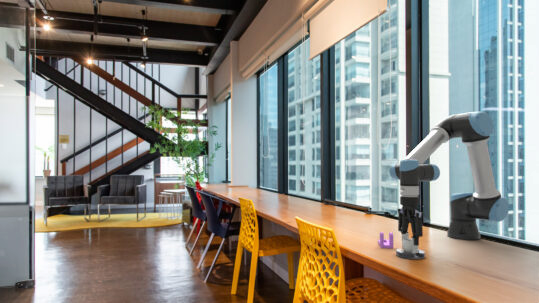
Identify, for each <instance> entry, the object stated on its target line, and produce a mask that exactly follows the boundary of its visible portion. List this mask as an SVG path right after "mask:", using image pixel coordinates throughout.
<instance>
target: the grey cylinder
mask: <svg viewBox="0 0 539 303" xmlns="http://www.w3.org/2000/svg"><path fill="white" fill-rule="evenodd" d="M402 251H404V252H406V253H412V242H411V238H409V239H404V240H403V249H402ZM413 256H416V253H413Z"/></svg>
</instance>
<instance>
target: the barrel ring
mask: <svg viewBox="0 0 539 303" xmlns="http://www.w3.org/2000/svg"><path fill="white" fill-rule="evenodd" d="M395 255H396V256H397V257H398V258H402V259H406V260H422V259H425V256H426V251H424V250H422V249H420V248H418V253H416V256H413V253H406V252H404V251H403V249H402V248H396V249H395Z"/></svg>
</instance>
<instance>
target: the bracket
mask: <svg viewBox="0 0 539 303" xmlns="http://www.w3.org/2000/svg"><path fill="white" fill-rule="evenodd" d="M377 243H378V245H379V248H380V249H394V233H393V232H389V233H388V239H385V234H384V231H380V232H379V239H378V240H377Z"/></svg>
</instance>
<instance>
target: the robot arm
mask: <svg viewBox="0 0 539 303" xmlns="http://www.w3.org/2000/svg"><path fill="white" fill-rule="evenodd" d="M493 132H494V122H493V119H492V117H491V115H489V114H488V113H486V112H485V111H471V112H470V111H469V112H465V113H455V114H452V115H449V116H447V117H445V118H443V119H442V120H440V121H439V122H438V123H436V124H435V125H434V126H433V127H432V128H431V130H430V133H428V135H427V136H426V137H425V138H424V139H423V140H422V141H421V142H420V143H419V144H417V146H416V147H415V148H414V149H413V150H412V151H410V153H409V154H408V155H407V156H405V158H403V159H402V160H400V162H399V163H397V162H396V163H393V164H391V165H390V167H389V175H390V177H391V178H392V179H394V180H399V188H400V189H399V192H400V196H399V201H400V204H399V205H401V206H402V207H401V208H397V213H398V214H397V216H398V218H397V220H398V221H397V222H398V225H397V226H398V227H397V228H398V232H400V234H401V241H402V242H401V243H402V244H401V245H402V246H401V249H402V250H403V240H404V239H411V242H412V253H418V249H419V245H420V240H419V239H420V238H421V237H424V235H423V234H424V232H423V231H424V230H423V215H424V213H423V212H422V211H421V212H420V211H419V209H418V206H420V197H419V195H420V182H433V181H437V180H438V179H439V178H440V175H441V170H440V167H439V166H438V165H437V164H433V163H425V162H426V161H427V160H428V159H429V158H430V157H431V156H432V155H433V154H434V153H435V152H436V151H437V150H438V149H439V148H440V147H441V146H442V145H443V144H445V143H448V142H449V141H450V140H452V139H456V138H460V139H461V143H463V144H464V145H465V146H466V149H467V155H468V160H469V164H470V170H471V174H472V179H473V184H474V185H473V186H474V189H475V191H474V192H460V193H459V192H458V193H457V192H456V193H451V194H450V198H449V200H450V201H449V203H450V205H449V206H450V222H449V226H448V229H447V232H446V234H447V237H450V238H451V239H458V240H467V241H475V240H480V239H481V233H480V232H479V227H478V225H477V220H483V221H486V222H487V221H488V222H497V223H498V222H502V221H504V220H505V219H506V218H507V217H508V216H507V215H508V213H509V210H510V205H509V204H510V203H509V200H508V199H507V198H505V197H502V193H501V191H500V190H498V189H497V188H496V183H495V182H496V181H495V177H494V173H493V167H492V161H491V158H490V153H489V152H490V151H489V147H488V141H489V140H490V138H491V137H490V135H492V133H493ZM409 224H410V228H411V233H412V235H411V238H410V234H409Z"/></svg>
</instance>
